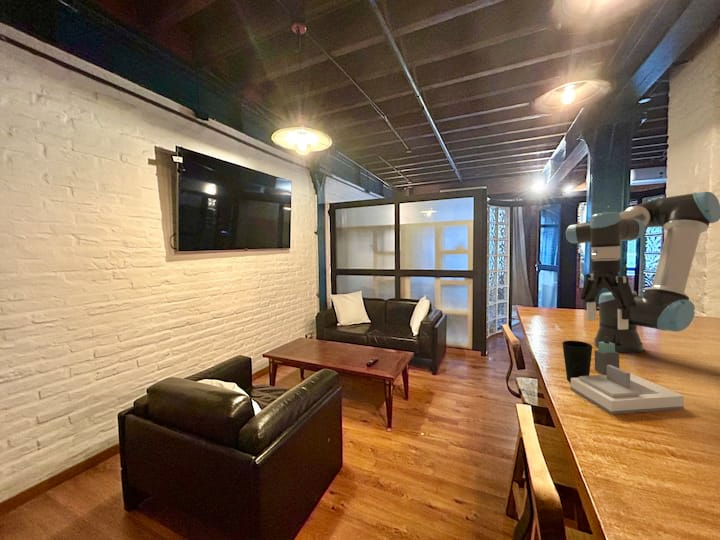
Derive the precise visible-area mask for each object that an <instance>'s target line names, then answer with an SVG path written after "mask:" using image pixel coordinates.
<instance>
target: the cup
mask: <svg viewBox="0 0 720 540" xmlns="http://www.w3.org/2000/svg"><path fill="white" fill-rule="evenodd" d="M561 344H562V351H563V357H564V364H565V365H564V366H565V374H566V380H567V382H569V383H571V378H578V377H579V376H590V374H591V373H590V372H591V365H592V364H591V362H592V355H593V354H592V353H593V345H592V344H591V343H589V342H586V341H579V340H564V341H563V342H562V343H561Z"/></svg>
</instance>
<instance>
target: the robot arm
mask: <svg viewBox="0 0 720 540" xmlns="http://www.w3.org/2000/svg"><path fill="white" fill-rule="evenodd" d="M719 220H720V201H719V198H718V197H717V195H715V193H713V192H712V191H701V192H700V191H699V192H692V193H688V194H680V195H674V196H667V197H661V198H656V199H651V200H647V201H645V202H642V203H639V204H637V205H633V206H630V207H628V208H626V209H625V210H624V211H621V212H617V211H606V212H601V213H600V212H599V213H593V214H592V215H591V216H590V221H586V222H583V223H576V224H570V225H568V227H567V228H566V230H565V238H566V240H567V242H568V243H571V244H586V243H590V259H592V261H590V271H591V272H593V273H586V274H585V280H584V281H585V282H584V285H583V289H582V292H581V295H580V299H581V300H583V301H584V302H585V310H586V321H588V322H593V321H597V302H596V300H595V299H596V298H597V296H598V295H599V293H600V292H601V290H602V289H603V288H604V289H607V290H608V291H607V292H603V293H601V294H600V295H599V297H598V313H599V314H598V316H599V317H598V319H599V322H598V323H599V325H598V330H597V333H596V336H595V337H594V340H593V341H594V343H593V344H594V346H595V347H597V348H599V347H598V342H604V337H605V336H606V337H609V342H611V343H614V344H615V352H617V353H626V354H627V353H629V354H634V353H641V352H643V351H644V345H643V342H641V337H640V335H639V333H638V328H637V327H638V326H639V327H643V328H650V329H654V330H661V331H669V332H674V333H675V332H682V331H684V330H685V329H687V328H688V327H689V326H690V325H691V324H692V322H693V320H694V317H695V314H696V312H695V309H696V308H695V304H694V302H692V301H691V300H689V299H690V297H689V295H687V293H685V291H686V287H687V284H688V279H689V277H690V273H691V269H692V266H693V261H694V258H695V254H696V251H697V247H698V243H699V239H700V236H701V233H705V232H706V231H707V230H708V229H709V225H710V224H714V223H717V222H719ZM659 227H661V228H662V227H663V229H665V231H666V235H665V238H664V242H663V246H662V247H661V249H662V250H661V252H660V255H659V260H658V263H657V267H656V270H655V273H654V278H653V279H652V280H653V281H652V284H651V286H650V287H649V288H646V289H644V293H643V295H638V294H637V291H635V290H632V288H631V286H630V281H629V276H627V275H626V276H624V275H623V276H620V275H619V272H620V271H621V270H622V269H621V267H622V264H621V260H620V259H621V258H622V256H621V255H622V254H621V253H622V252H621V242H628V241H629V242H630V241H636V240H638V239H640V238H642V237H643V235H644V234H645V233H646V229H647V228H659Z"/></svg>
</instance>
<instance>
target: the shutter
mask: <svg viewBox="0 0 720 540" xmlns="http://www.w3.org/2000/svg"><path fill="white" fill-rule="evenodd" d="M606 371H607V375H604V374H594V375H593V374H592V375H589V376H579V379H580V380H582V381H584V382H586V383H588V384H590V385H591V386H593V387H595V388H597V389H599V390H600V391H602V392H604V393H606V394H608V395H610V396H611V397H622V396H636V395H640V392H638V391H636V390H634V389H632V388H630V374H631V373H630V372H629V371H626V370H624V369H621V368H620V367H619V368H617V367H614V366H612V365H606Z"/></svg>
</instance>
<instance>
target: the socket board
mask: <svg viewBox="0 0 720 540" xmlns="http://www.w3.org/2000/svg"><path fill="white" fill-rule="evenodd" d="M630 388H632V389H634V390H636V391H638V392H640V395H636V396H622V397H611V396H610V395H608V394H606V393H604V392H602V391H600V390H599V389H597V388H595V387H593V386H591V385H590V384H588V383H586V382H584V381H582V380H580V379H579V377H578V378H571V382H570V390H571V391H573V392H574V393H576V394H577V395H579V396H580V397H583V398H584V399H586V400H588V401H589V402H591V403H592V404H594V405H595V406H597V407H599V408H600V409H602V410H603V411H605V412H606V413H609V414H610V415H619V414H621V415H622V414H635V413H636V414H638V413H648V412H663V411H677V410H685V396H684V395H683V394H681V393H678V392H676V391H673V390H671V389H668V388H666V387H664V386H661V385H659V384H657V383H655V382H652V381H649V380H647V379H645V378H643V377H641V376H639V375H636V374H633V373H630Z"/></svg>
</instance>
